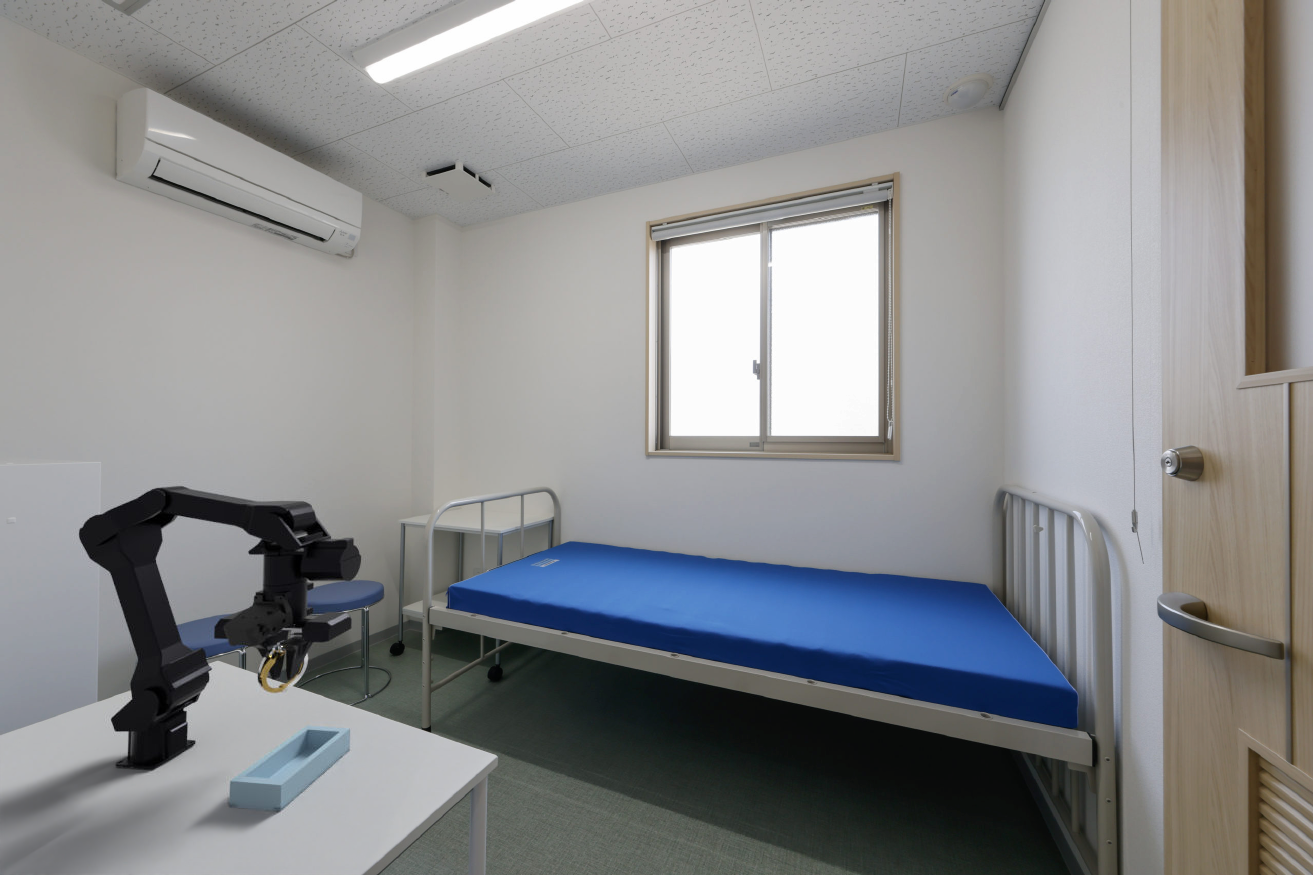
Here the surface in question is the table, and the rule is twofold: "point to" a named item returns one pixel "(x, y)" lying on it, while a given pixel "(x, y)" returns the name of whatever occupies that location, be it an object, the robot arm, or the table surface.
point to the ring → (267, 664)
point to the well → (289, 768)
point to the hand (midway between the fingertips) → (283, 678)
